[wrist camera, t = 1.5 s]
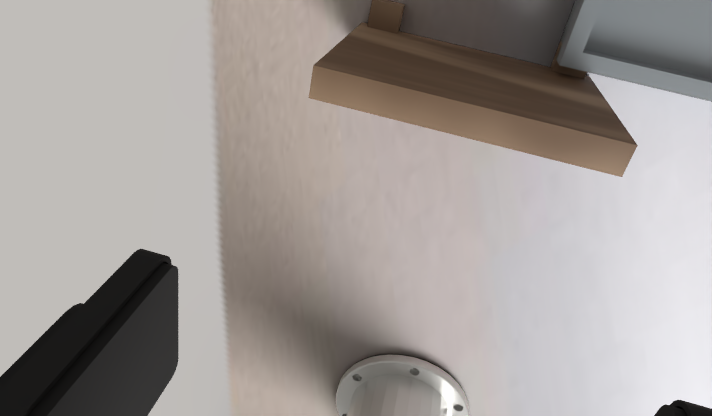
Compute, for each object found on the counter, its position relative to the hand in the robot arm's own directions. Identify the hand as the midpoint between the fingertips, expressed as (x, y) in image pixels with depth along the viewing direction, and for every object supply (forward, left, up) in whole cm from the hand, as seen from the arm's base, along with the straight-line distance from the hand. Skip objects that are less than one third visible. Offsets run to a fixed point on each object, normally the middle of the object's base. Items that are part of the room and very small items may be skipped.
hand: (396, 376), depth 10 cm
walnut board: (0, -1, -29) cm, 29 cm away
